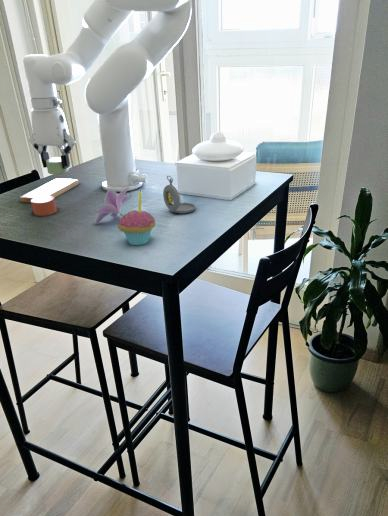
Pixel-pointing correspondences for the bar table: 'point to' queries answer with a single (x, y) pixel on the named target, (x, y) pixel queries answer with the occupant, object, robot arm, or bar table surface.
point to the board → (50, 189)
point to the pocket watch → (175, 200)
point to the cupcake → (137, 225)
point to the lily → (112, 204)
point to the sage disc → (55, 166)
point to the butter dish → (216, 169)
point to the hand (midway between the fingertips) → (56, 166)
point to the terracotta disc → (43, 205)
